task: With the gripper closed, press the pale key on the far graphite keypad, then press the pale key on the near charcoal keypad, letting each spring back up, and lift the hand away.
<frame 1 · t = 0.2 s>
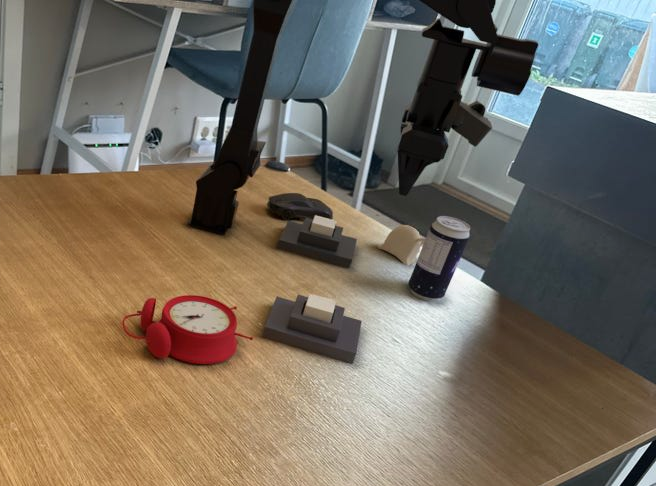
hand: (403, 185, 106), 14 cm above the table, tool pointing down, fingers open, 9 cm apart
back keypad: (316, 248, 117), on the table
decorative ornament: (400, 258, 120), on the table
toy car: (297, 217, 128), on the table
beverage can: (423, 295, 110), on the table
front key: (319, 308, 92), point 4 cm above the table, slide at 0.1 cm
back key: (322, 226, 115), point 4 cm above the table, slide at 0.1 cm
front keypad: (311, 334, 94), on the table
alarm clock: (181, 343, 88), on the table
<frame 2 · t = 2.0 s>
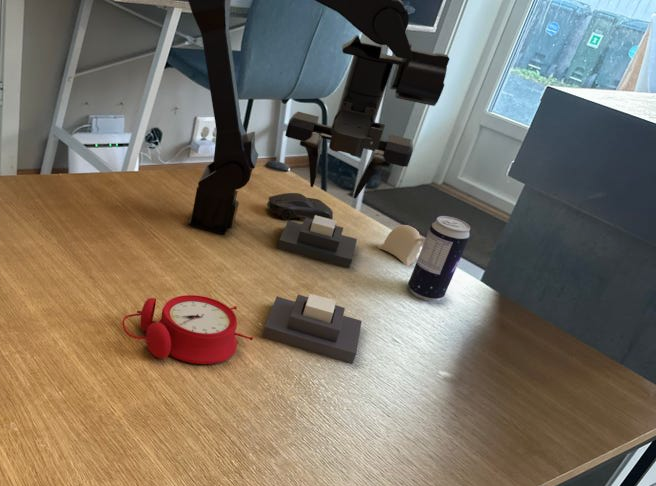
hand: (333, 191, 112), 10 cm above the table, tool pointing down, fingers open, 7 cm apart
nothing on the table moved.
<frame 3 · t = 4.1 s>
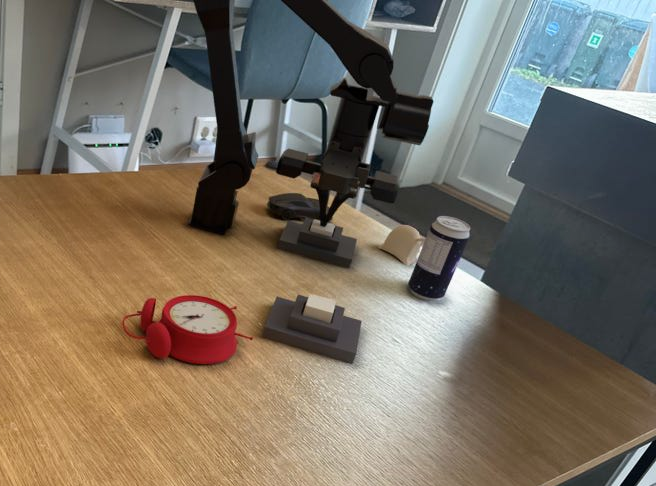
hand: (322, 225, 115), 4 cm above the table, tool pointing down, fingers closed, pressing on back key
back key: (321, 230, 115), point 3 cm above the table, slide at -0.6 cm, touching gripper
everything else where it was.
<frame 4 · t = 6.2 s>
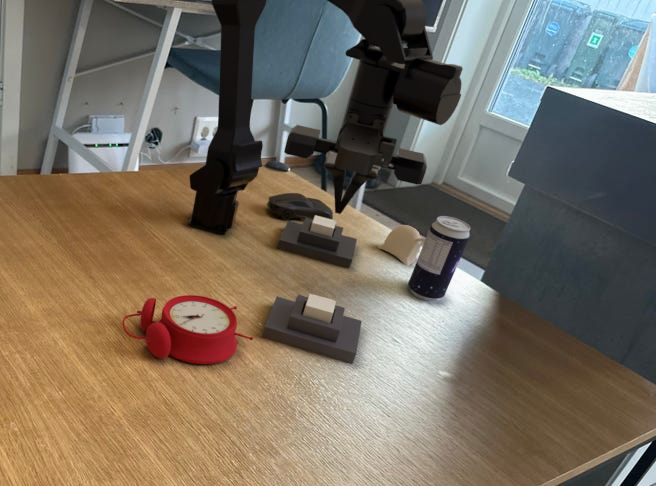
hand: (337, 212, 101), 11 cm above the table, tool pointing down, fingers closed
back key: (322, 226, 115), point 4 cm above the table, slide at 0.1 cm
everything else where it was.
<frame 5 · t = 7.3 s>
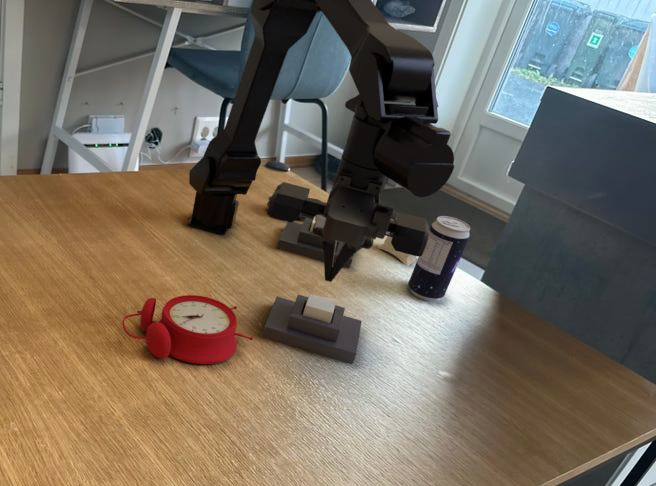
hand: (328, 280, 89), 8 cm above the table, tool pointing down, fingers closed
nothing on the table moved.
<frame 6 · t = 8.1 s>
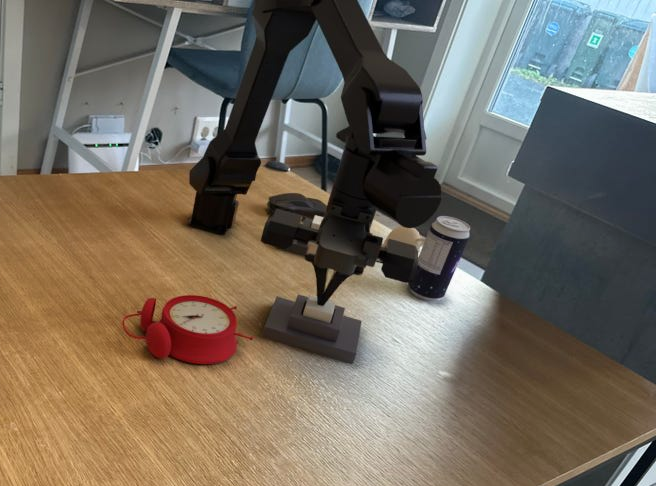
hand: (320, 304, 91), 5 cm above the table, tool pointing down, fingers closed, pressing on front key
front key: (318, 309, 92), point 4 cm above the table, slide at -0.1 cm, touching gripper
everything else where it was.
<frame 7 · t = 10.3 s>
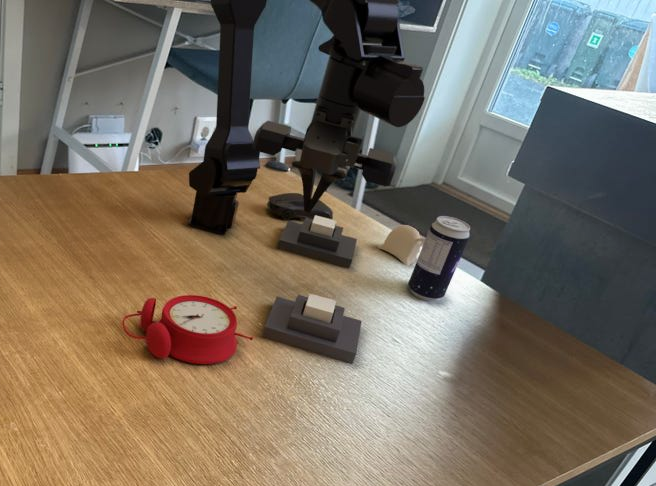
hand: (307, 211, 99), 11 cm above the table, tool pointing down, fingers closed
front key: (319, 308, 92), point 4 cm above the table, slide at 0.1 cm
everything else where it was.
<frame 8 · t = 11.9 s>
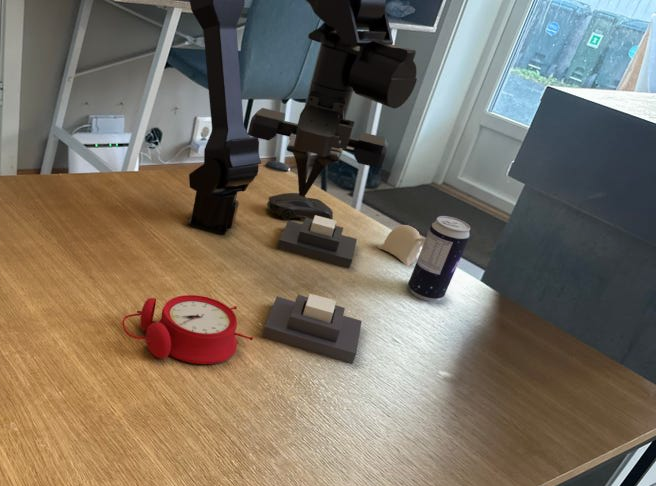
hand: (302, 195, 102), 12 cm above the table, tool pointing down, fingers closed
nothing on the table moved.
at the end: back key pushed in 1.3 cm at the most during the clip, back to where it started at the end; front key pushed in 1.1 cm at the most during the clip, back to where it started at the end; front key slide at 0.1 cm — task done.
